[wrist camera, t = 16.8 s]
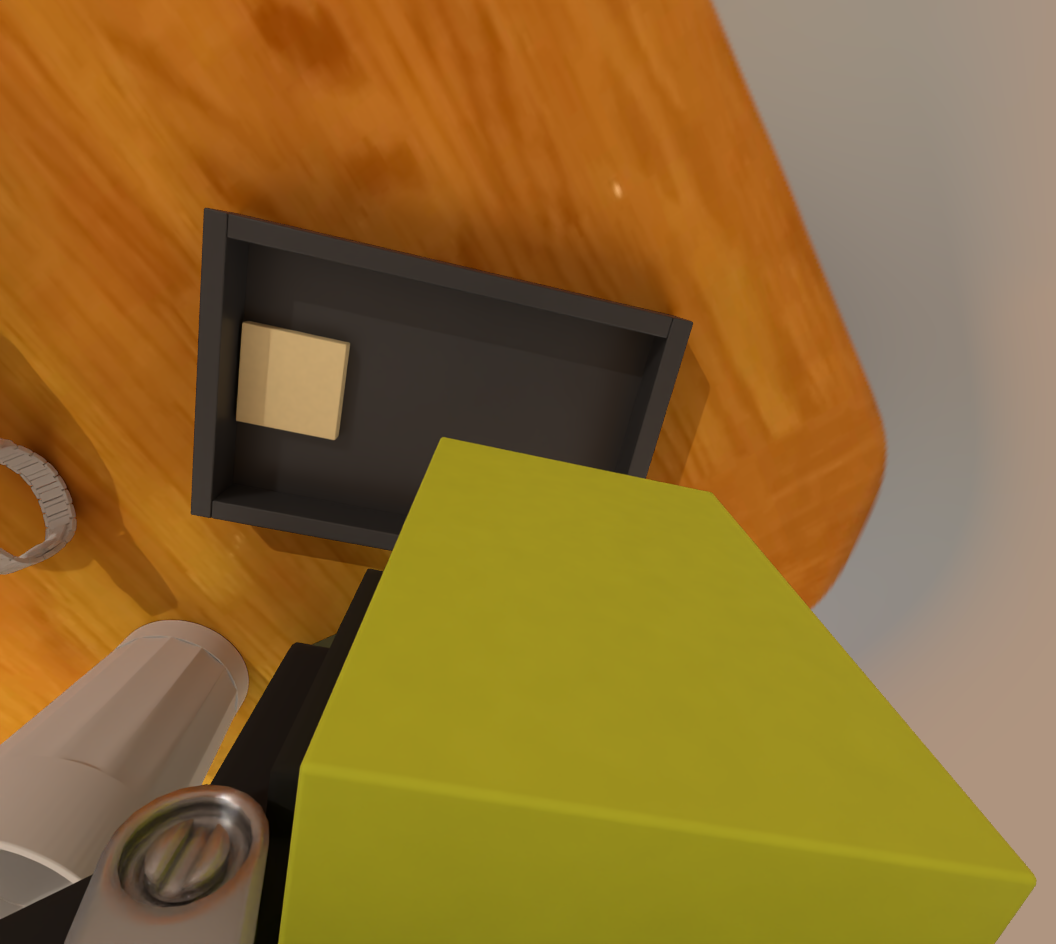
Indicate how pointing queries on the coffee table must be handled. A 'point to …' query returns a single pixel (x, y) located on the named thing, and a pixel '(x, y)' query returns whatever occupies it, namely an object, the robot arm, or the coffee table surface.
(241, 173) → the coffee table surface
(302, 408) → the beige flat square block
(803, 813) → the yellow-green rectangular block
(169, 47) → the coffee table surface
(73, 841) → the cup
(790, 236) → the coffee table surface
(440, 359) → the pan
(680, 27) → the coffee table surface
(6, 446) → the wristwatch
